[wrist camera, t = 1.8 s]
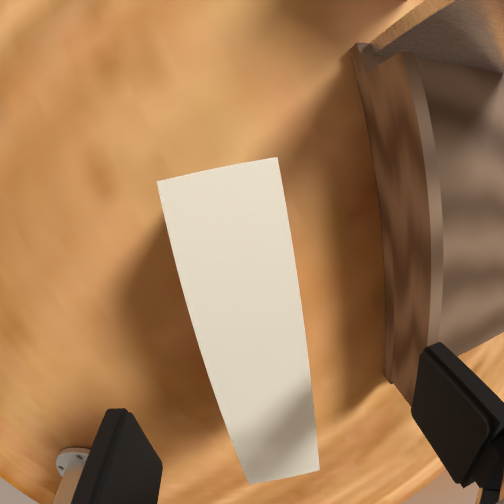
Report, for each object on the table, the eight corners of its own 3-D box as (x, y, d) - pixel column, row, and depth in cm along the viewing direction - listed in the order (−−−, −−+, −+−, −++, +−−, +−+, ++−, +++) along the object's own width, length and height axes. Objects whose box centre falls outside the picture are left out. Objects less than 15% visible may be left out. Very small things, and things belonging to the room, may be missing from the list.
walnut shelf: (507, 319, 26) (542, 342, 20) (384, 375, 26) (415, 417, 19) (496, 68, 19) (539, 58, 13) (349, 49, 19) (388, 15, 12)
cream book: (286, 367, 24) (320, 470, 14) (238, 377, 24) (248, 484, 14) (250, 166, 20) (278, 155, 10) (190, 178, 20) (155, 180, 10)
